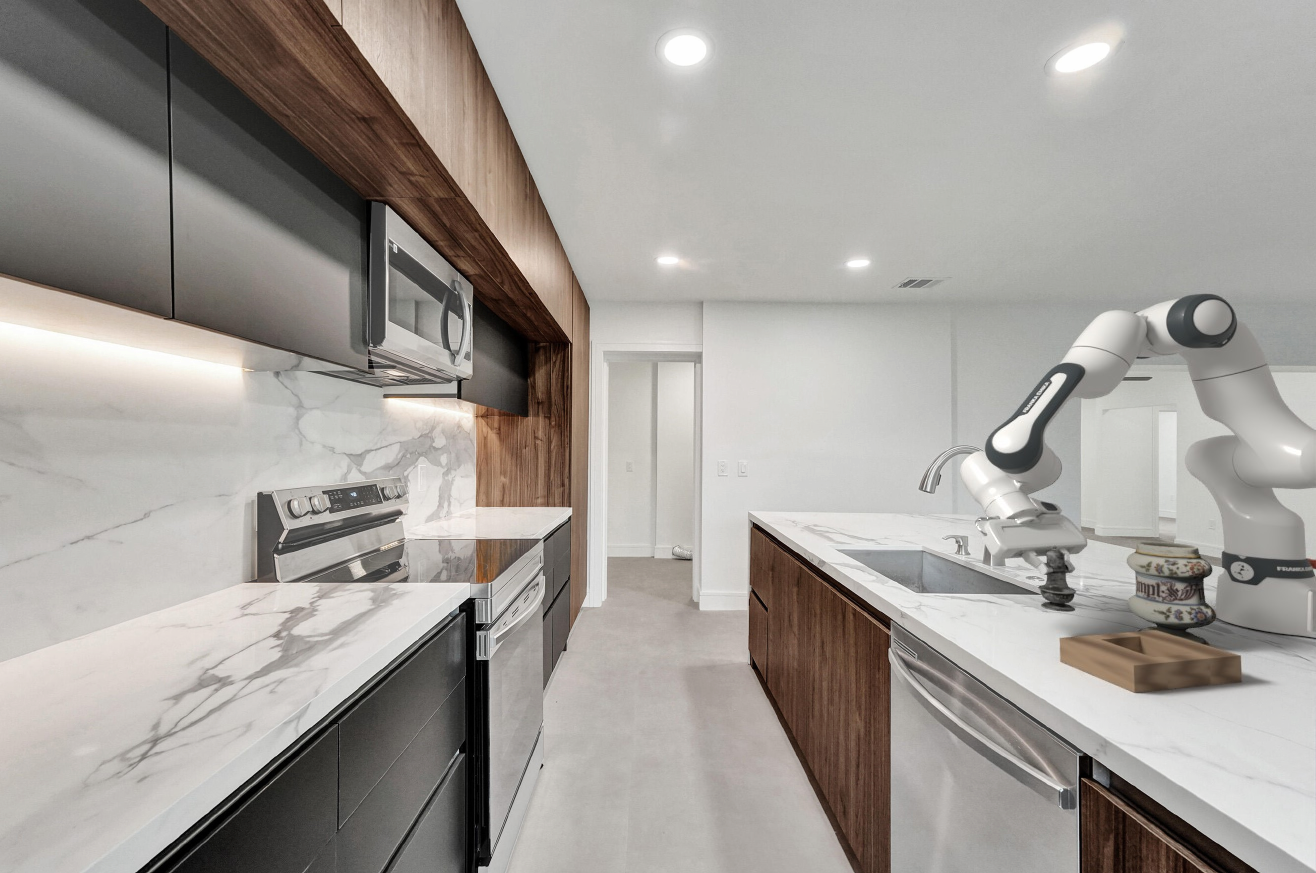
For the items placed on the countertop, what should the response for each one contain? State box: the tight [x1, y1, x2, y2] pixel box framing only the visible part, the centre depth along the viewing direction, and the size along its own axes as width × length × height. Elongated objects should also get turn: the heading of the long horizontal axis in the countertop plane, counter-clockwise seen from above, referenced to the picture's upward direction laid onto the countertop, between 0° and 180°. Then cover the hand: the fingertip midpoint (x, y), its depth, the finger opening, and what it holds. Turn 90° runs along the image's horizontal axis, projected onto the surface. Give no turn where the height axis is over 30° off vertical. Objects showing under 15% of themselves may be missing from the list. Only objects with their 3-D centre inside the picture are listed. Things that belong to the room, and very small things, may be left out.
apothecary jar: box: [1126, 541, 1217, 646], centre depth 101 cm, size 12×12×18 cm
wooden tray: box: [1059, 630, 1243, 694], centre depth 86 cm, size 20×12×4 cm, turn 100°
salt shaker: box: [1037, 545, 1077, 613], centre depth 102 cm, size 6×6×12 cm
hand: (1059, 572), depth 102 cm, fingers closed on salt shaker, 4 cm apart
